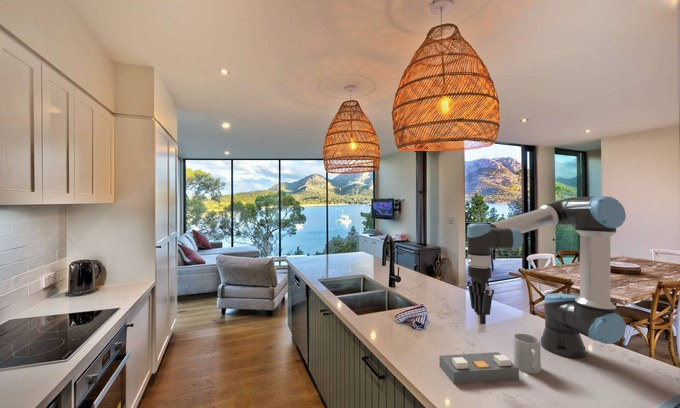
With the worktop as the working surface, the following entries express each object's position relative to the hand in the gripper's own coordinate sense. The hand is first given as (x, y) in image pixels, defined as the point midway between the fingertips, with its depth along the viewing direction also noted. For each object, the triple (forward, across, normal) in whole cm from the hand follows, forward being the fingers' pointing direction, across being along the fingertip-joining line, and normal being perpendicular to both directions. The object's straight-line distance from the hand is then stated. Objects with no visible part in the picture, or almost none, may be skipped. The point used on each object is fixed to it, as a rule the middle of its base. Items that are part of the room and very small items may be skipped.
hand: (480, 331), depth 100 cm
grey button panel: (+16, -3, 0) cm, 16 cm away
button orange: (+15, 0, 0) cm, 15 cm away
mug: (+16, -2, +20) cm, 26 cm away
